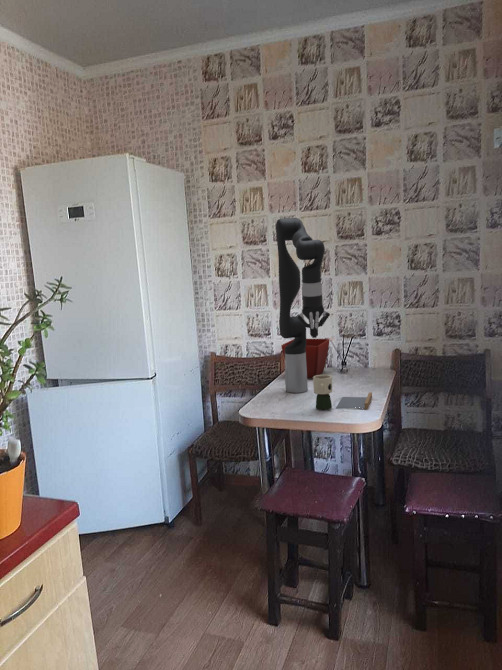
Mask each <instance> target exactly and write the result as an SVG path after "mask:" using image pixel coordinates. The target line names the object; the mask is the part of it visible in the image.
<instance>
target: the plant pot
mask: <svg viewBox="0 0 502 670" xmlns="http://www.w3.org/2000/svg"><path fill="white" fill-rule="evenodd" d="M293 340H294V338H293V339H291V340H289V341H286V342H285V343H283V344H281V350H282V354H283V358H284V359H285V347H286V346H287V345H289V344H290V343H292V342H293ZM329 347H330V339H329V338H306V366H307V379H313V377H314V376H316V375H322V374H323V373H324V371H325V367H326V363H327V360H328V355H329Z"/></svg>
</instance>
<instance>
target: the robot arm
mask: <svg viewBox="0 0 502 670" xmlns="http://www.w3.org/2000/svg"><path fill="white" fill-rule="evenodd" d="M304 225H305V224H304V223H303V221H302V220H301V219H300V218H297V217H290V218H289V217H288V218H287V217H286V218H285V217H284V218H279V219H277V220H276V223H275V232H276V233H275V234H276V243H277V244H276V245H277V253H278V254H277V255H278V287H279V321H278V326H279V333H280V336H281V337H282V338H283V339H285V340H286V339H292V338H293V339H294V340H293V339H292V340H293V342H292V343H290V344H289V345H287V346H286V347H285V358H284V362H285V370H284V384H285V392H286V393H292V394H296V393H298V394H299V393H305V392H308V390H309V386H308V385H309V384H308V378H307V366H306V339H307V329H308V328H309V335H310V337H312V338H311V339H318V338H317V337H318V335H319V327H323V326H324V325H325V322H326V321H328V319H329V317H330V313H329V311H326V310H325V308H324V303H323V301H324V300H323V286H322V273H321V272H322V271H321V270H322V264H323V259H324V255H325V247H326V246H325V244H324V242H323V241H322V240H320V239H313V238H312V237H311V235H309V234H308V232H307V230H306V227H305V226H304ZM286 241H288V242H290V241H292V245H293V247H294V248H295V254H296V257H297V259H298V260H301V261H309V260H311V261H312V260H313V262H312V263H311V264H308V265H306V266H303V267H302V269H301V271H300V268H299V266H298V265H297V264H296V262H295V260H294V259H293V258H292V257H291V254H290V253H289V251H288V248H287V245H286ZM301 279H302V280H301ZM301 282H302V286H301ZM300 289H301V296H302V310H301V312H300V313H299V314H297V315H295V316H291V311H292V307H293V303H294V301H295V299H296V297H297V295H298V294H299V292H300ZM305 318H306V319H307V320H308V322H307V321H306V320H305ZM320 318H321V319H320Z"/></svg>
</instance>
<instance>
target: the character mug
mask: <svg viewBox="0 0 502 670" xmlns="http://www.w3.org/2000/svg"><path fill="white" fill-rule="evenodd" d="M332 379H333V378H332V375H330V374H320V375H316V376H314V377H313V378H312V381H313V382H312V383H313V393H314V394H316V399H315V409H317V410H322V411H325V410H326V411H327V410H331V409H332V408H333V405H332V399H331V395H330V394H331V393H333V380H332Z"/></svg>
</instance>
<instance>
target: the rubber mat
mask: <svg viewBox="0 0 502 670" xmlns="http://www.w3.org/2000/svg"><path fill="white" fill-rule="evenodd" d="M372 400H373V392H371V391H370V392H368V394H367V396H365V397H364V396H342V397H340V400H339V402H338V403H337V405H336V407H335V409H336V408H355V407H356V408H359V407H360V408H359V409H358V410H369V408H370V405H371V402H372ZM368 407H369V408H368ZM362 408H363V409H362Z"/></svg>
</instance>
